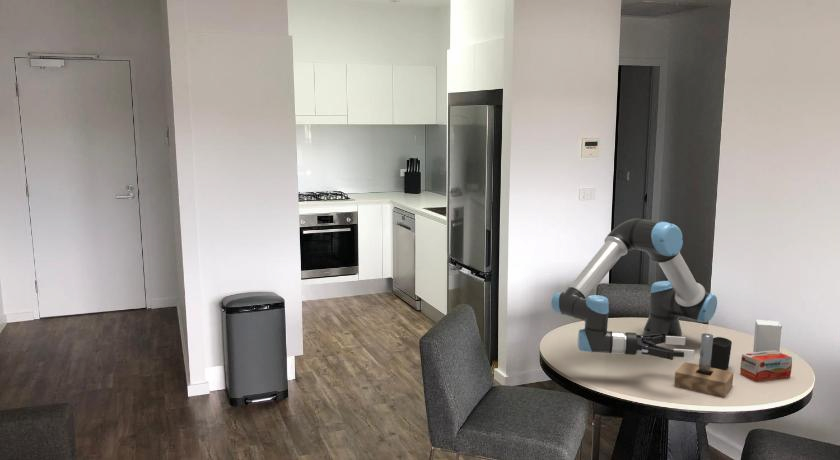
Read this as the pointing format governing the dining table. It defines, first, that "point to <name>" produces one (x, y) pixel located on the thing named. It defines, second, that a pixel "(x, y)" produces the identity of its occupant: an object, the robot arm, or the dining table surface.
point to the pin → (705, 354)
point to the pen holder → (720, 353)
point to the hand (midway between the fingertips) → (689, 347)
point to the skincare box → (767, 336)
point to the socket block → (704, 380)
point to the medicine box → (766, 365)
